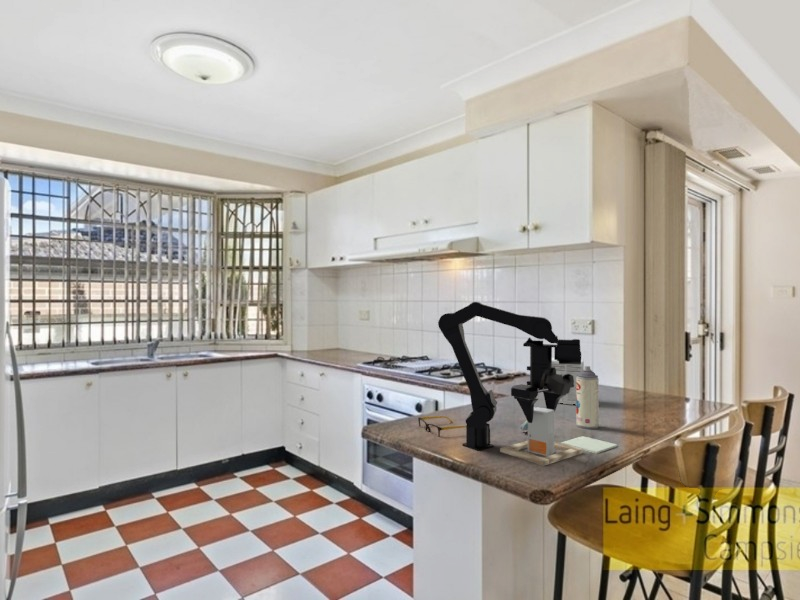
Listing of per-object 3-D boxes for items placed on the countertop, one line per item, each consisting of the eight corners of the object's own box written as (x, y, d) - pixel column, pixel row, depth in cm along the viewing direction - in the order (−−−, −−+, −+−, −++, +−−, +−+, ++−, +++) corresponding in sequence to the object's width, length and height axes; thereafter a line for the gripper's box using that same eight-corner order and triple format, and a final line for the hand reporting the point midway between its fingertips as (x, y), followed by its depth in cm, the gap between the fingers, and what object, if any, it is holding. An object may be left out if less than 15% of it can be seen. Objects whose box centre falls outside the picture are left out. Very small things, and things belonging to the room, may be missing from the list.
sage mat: (596, 453, 129) (596, 451, 129) (561, 444, 138) (561, 442, 138) (617, 446, 136) (617, 444, 136) (582, 437, 145) (582, 436, 145)
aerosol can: (576, 423, 162) (576, 364, 163) (598, 425, 160) (598, 365, 160) (576, 427, 156) (576, 367, 156) (598, 430, 154) (598, 368, 154)
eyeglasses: (415, 429, 156) (415, 417, 156) (453, 424, 162) (453, 412, 162) (437, 440, 143) (437, 427, 143) (477, 434, 149) (477, 422, 149)
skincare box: (527, 452, 130) (527, 408, 130) (534, 449, 133) (534, 406, 134) (548, 457, 126) (548, 412, 126) (555, 453, 129) (555, 409, 129)
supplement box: (583, 405, 190) (583, 362, 191) (549, 403, 195) (549, 360, 196) (583, 399, 203) (583, 358, 203) (551, 397, 208) (551, 357, 208)
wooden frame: (543, 466, 119) (543, 461, 119) (500, 452, 130) (500, 448, 130) (582, 453, 130) (582, 448, 130) (539, 441, 141) (539, 437, 141)
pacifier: (536, 427, 153) (542, 415, 149) (545, 443, 148) (551, 432, 145) (516, 429, 151) (521, 417, 147) (523, 446, 146) (529, 434, 143)
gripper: (545, 369, 118) (544, 432, 118) (586, 363, 129) (586, 421, 129) (509, 364, 127) (509, 423, 127) (551, 359, 138) (551, 413, 138)
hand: (540, 420), depth 130 cm, fingers open, 9 cm apart
